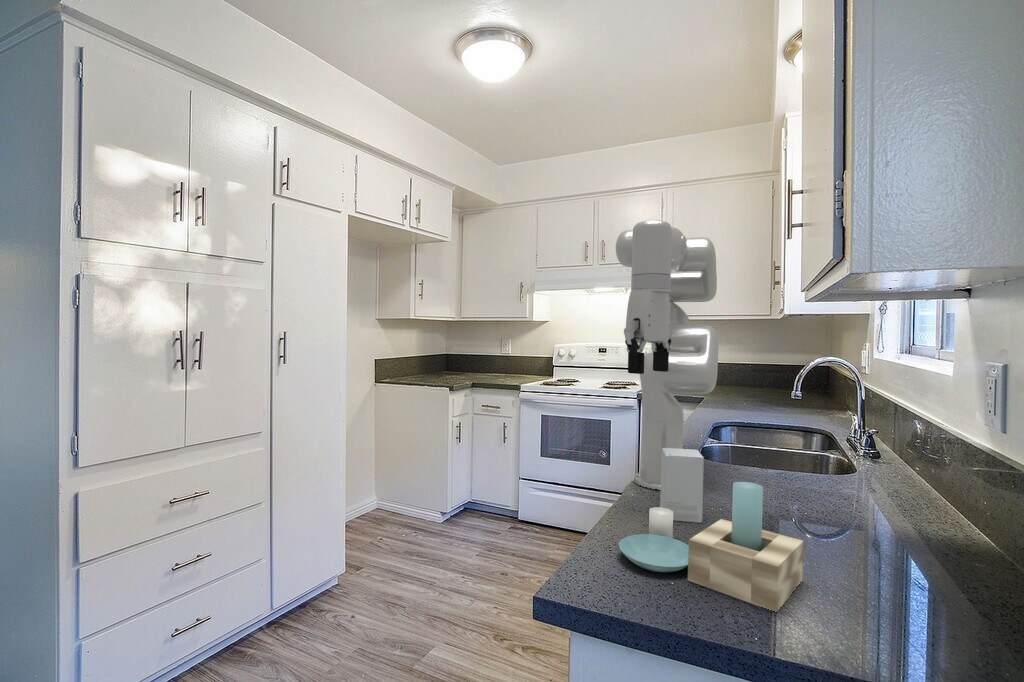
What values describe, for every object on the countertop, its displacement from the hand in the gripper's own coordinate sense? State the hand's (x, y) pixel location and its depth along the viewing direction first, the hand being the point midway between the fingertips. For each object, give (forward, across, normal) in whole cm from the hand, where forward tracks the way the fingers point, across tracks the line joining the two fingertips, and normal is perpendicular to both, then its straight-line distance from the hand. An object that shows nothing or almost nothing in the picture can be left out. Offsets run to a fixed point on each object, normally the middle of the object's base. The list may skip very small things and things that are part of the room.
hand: (648, 372), depth 101 cm
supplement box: (+28, -5, +5) cm, 29 cm away
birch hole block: (+28, +14, +24) cm, 40 cm away
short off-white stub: (+28, +9, +8) cm, 31 cm away
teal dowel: (+28, +14, +24) cm, 40 cm away
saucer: (+29, +18, +12) cm, 36 cm away
